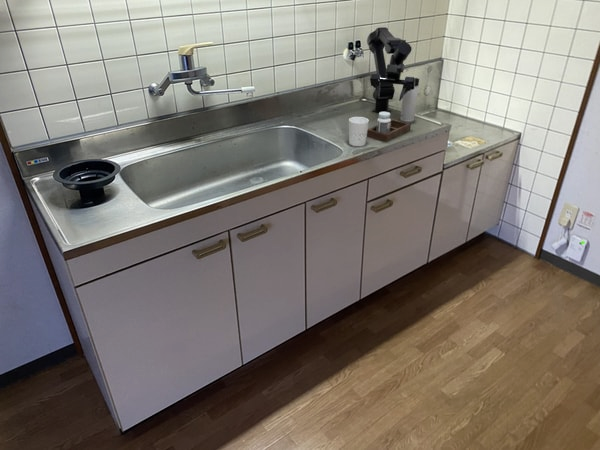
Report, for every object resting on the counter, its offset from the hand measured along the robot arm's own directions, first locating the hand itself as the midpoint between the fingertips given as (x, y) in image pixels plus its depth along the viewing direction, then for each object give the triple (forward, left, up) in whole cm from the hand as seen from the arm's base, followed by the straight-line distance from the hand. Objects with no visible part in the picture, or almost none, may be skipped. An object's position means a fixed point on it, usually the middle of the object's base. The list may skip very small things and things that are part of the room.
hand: (388, 99), depth 196 cm
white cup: (+21, +1, -14) cm, 25 cm away
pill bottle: (+7, +3, -14) cm, 16 cm away
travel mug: (-16, +1, -14) cm, 21 cm away
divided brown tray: (+3, +3, -13) cm, 14 cm away
